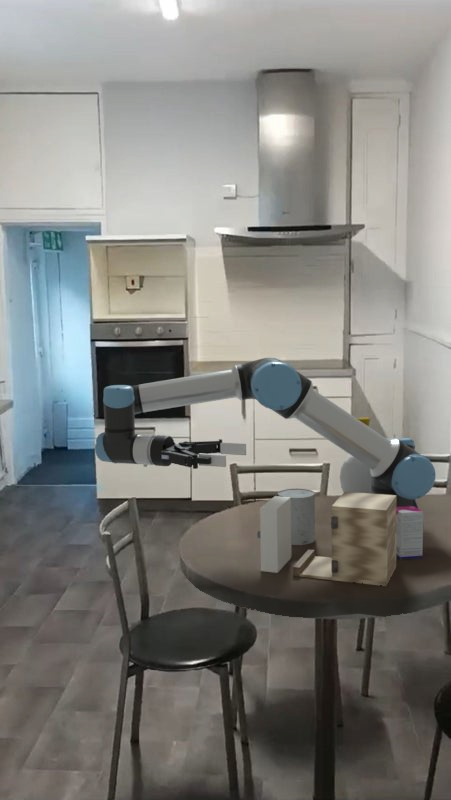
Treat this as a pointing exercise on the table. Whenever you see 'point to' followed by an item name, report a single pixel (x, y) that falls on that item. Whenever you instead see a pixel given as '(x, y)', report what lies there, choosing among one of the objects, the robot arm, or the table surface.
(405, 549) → the supplement box
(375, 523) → the cabinet
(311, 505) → the grey cylinder
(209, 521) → the table surface
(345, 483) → the soap bottle
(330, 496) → the table surface
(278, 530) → the door
